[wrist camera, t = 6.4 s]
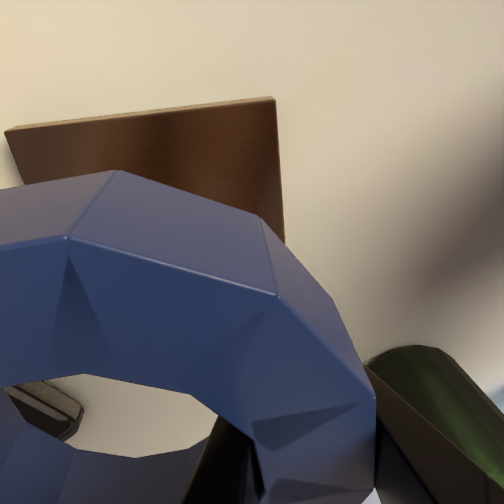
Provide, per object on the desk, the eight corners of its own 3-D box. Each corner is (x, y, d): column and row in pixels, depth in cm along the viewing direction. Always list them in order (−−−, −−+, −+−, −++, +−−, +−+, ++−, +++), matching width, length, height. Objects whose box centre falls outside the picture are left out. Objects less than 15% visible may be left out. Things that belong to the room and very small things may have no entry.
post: (272, 95, 16) (307, 129, 10) (286, 302, 22) (315, 414, 15) (16, 125, 16) (-123, 180, 10) (93, 326, 22) (37, 450, 15)
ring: (323, 132, 8) (381, 180, 5) (342, 466, 13) (375, 574, 10) (-237, 229, 8) (-477, 328, 5) (17, 522, 13) (-33, 644, 10)
